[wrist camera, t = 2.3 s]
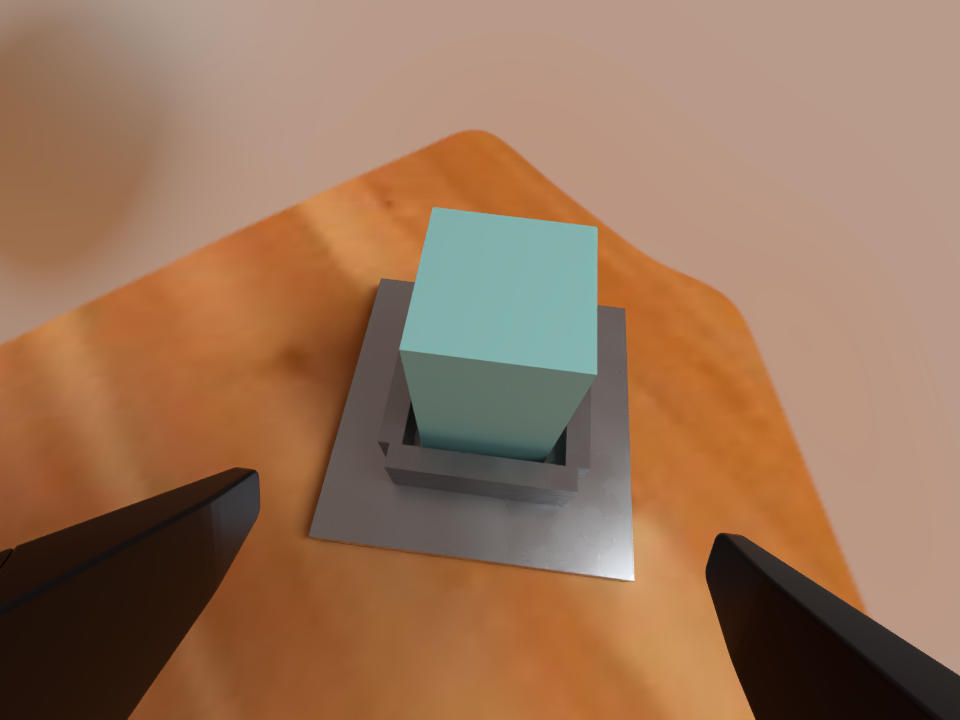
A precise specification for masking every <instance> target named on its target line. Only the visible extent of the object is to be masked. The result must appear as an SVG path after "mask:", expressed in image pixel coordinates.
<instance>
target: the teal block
mask: <svg viewBox="0 0 960 720" xmlns="http://www.w3.org/2000/svg"><path fill="white" fill-rule="evenodd" d="M399 351H400V355H401V359H402V364H403V368H404V372H405V376H406V380H407V384H408V389H409V393H410V397H411V401H412V405H413V409H414V414H415V418H416V422H417V426H418V430H419V435H420V439H421V443H422V447H425V448H433V449H440V450H448V451H455V452H463V453H471V454H478V455H486V456H493V457H501V458H508V459H516V460H524V461H531V462H539V463H544V461H545V460H546V458H547V456H548V455H549V453H550V452H551V450H552V448H553V447H554V445H555V443H556V442H557V440H558V438H559V437H560V435H561V433H562V432H563V430H564V429H565V427H566V425H567V424H568V422H569V420H570V419H571V417H572V415H573V414H574V412H575V410H576V409H577V407H578V405H579V404H580V402H581V401H582V399H583V397H584V396H585V394H586V392H587V391H588V389H589V387H590V386H591V384H592V382H593V381H594V379H595V378H596V376H597V227H594V226H586V225H577V224H569V223H561V222H552V221H544V220H536V219H527V218H519V217H511V216H502V215H494V214H486V213H477V212H469V211H461V210H452V209H444V208H436V207H433V209H432V213H431V218H430V222H429V226H428V230H427V234H426V239H425V243H424V247H423V251H422V255H421V260H420V264H419V268H418V272H417V277H416V281H415V285H414V289H413V293H412V298H411V302H410V306H409V310H408V315H407V319H406V323H405V327H404V331H403V336H402V340H401V344H400V348H399Z"/></svg>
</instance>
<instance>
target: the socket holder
mask: <svg viewBox="0 0 960 720" xmlns="http://www.w3.org/2000/svg"><path fill="white" fill-rule="evenodd" d="M414 285H415V283H414V282H406V281H398V280H390V279H382V278H381V281H380V284H379V288H378V291H377V295H376V298H375V302H374V305H373V309H372V313H371V316H370V320H369V323H368V327H367V330H366V334H365V337H364V341H363V344H362V348H361V351H360V355H359V359H358V362H357V366H356V369H355V373H354V376H353V380H352V383H351V387H350V390H349V394H348V397H347V401H346V405H345V408H344V412H343V415H342V419H341V422H340V426H339V429H338V433H337V436H336V440H335V443H334V447H333V451H332V454H331V458H330V461H329V465H328V468H327V472H326V475H325V479H324V482H323V486H322V490H321V493H320V497H319V500H318V504H317V507H316V511H315V514H314V518H313V521H312V525H311V528H310V532H309V537H311V538H313V539H316V540H322V541H329V542H336V543H344V544H351V545H358V546H366V547H373V548H380V549H388V550H395V551H402V552H409V553H417V554H424V555H431V556H439V557H446V558H453V559H460V560H468V561H475V562H482V563H490V564H497V565H504V566H511V567H519V568H526V569H533V570H541V571H548V572H555V573H563V574H570V575H577V576H584V577H592V578H599V579H606V580H614V581H621V582H630V581H634V561H633V531H632V501H631V471H630V441H629V411H628V381H627V351H626V321H625V309H624V308H616V307H608V306H600V305H597V376H596V378H595V379H594V381H593V382H592V384H591V386H590V387H589V389H588V391H587V392H586V394H585V396H584V397H583V399H582V401H581V402H580V404H579V405H578V407H577V409H576V410H575V412H574V414H573V415H572V417H571V419H570V420H569V422H568V424H567V425H566V427H565V429H564V430H563V432H562V433H561V435H560V437H559V438H558V440H557V442H556V443H555V445H554V447H553V448H552V450H551V452H550V453H549V455H548V456H547V458H546V460H545V461H544V463H539V462H531V461H524V460H516V459H508V458H501V457H493V456H486V455H478V454H471V453H463V452H455V451H448V450H440V449H433V448H425V447H422V443H421V439H420V435H419V430H418V426H417V422H416V418H415V414H414V409H413V405H412V401H411V397H410V393H409V389H408V384H407V380H406V376H405V372H404V368H403V364H402V359H401V355H400V351H399V348H400V344H401V340H402V336H403V331H404V327H405V323H406V319H407V315H408V310H409V306H410V302H411V298H412V293H413V289H414Z"/></svg>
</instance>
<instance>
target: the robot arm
mask: <svg viewBox="0 0 960 720" xmlns="http://www.w3.org/2000/svg"><path fill="white" fill-rule="evenodd" d="M259 510H260V489H259V475H258V472H257V471H256V470H253V469H246V468H239V467H236V468H232V469H229V470H226V471H224V472H221V473H218V474H215V475H212V476H210V477H207V478H204V479H201V480H199V481H196V482H193V483H190V484H187V485H185V486H182V487H179V488H176V489H174V490H171V491H168V492H165V493H162V494H160V495H157V496H154V497H151V498H149V499H146V500H143V501H140V502H137V503H135V504H132V505H129V506H126V507H124V508H121V509H118V510H115V511H112V512H110V513H107V514H104V515H101V516H99V517H96V518H93V519H90V520H87V521H85V522H82V523H79V524H76V525H74V526H71V527H68V528H65V529H62V530H60V531H57V532H54V533H51V534H49V535H46V536H43V537H40V538H37V539H35V540H32V541H29V542H26V543H24V544H21V545H18V546H16V547H15V549H14V550H13V549H11V548H10V549H6V550H4V551H1V552H0V720H127V719H128V718H129V716H130V715H131V713H132V712H133V710H134V709H135V708H136V706H137V705H138V703H139V702H140V700H141V699H142V697H143V696H144V695H145V693H146V692H147V690H148V689H149V687H150V686H151V685H152V683H153V682H154V680H155V679H156V677H157V676H158V674H159V673H160V672H161V670H162V669H163V667H164V666H165V664H166V663H167V661H168V660H169V659H170V657H171V656H172V654H173V653H174V651H175V650H176V648H177V647H178V646H179V644H180V643H181V641H182V640H183V638H184V637H185V635H186V634H187V633H188V631H189V630H190V628H191V627H192V625H193V624H194V622H195V621H196V620H197V618H198V617H199V615H200V614H201V612H202V611H203V609H204V608H205V607H206V605H207V604H208V602H209V601H210V599H211V598H212V596H213V595H214V593H215V592H216V590H217V589H218V587H219V585H220V584H221V582H222V580H223V579H224V577H225V575H226V573H227V571H228V570H229V568H230V566H231V564H232V562H233V561H234V559H235V557H236V555H237V553H238V552H239V550H240V548H241V546H242V544H243V543H244V541H245V539H246V537H247V535H248V534H249V532H250V530H251V528H252V526H253V524H254V523H255V521H256V519H257V517H258V514H259ZM706 580H707V584H708V587H709V591H710V594H711V597H712V600H713V604H714V607H715V610H716V613H717V617H718V620H719V623H720V626H721V630H722V633H723V636H724V639H725V643H726V646H727V649H728V652H729V655H730V658H731V661H732V663H733V666H734V668H735V671H736V674H737V676H738V679H739V681H740V683H741V686H742V688H743V691H744V693H745V695H746V698H747V700H748V703H749V705H750V707H751V710H752V712H753V715H754V717H755V719H756V720H960V676H959V675H958V674H956V673H955V672H953V671H951V670H950V669H948V668H947V667H945V666H944V665H942V664H941V663H939V662H938V661H936V660H934V659H933V658H931V657H930V656H928V655H927V654H925V653H924V652H922V651H920V650H919V649H917V648H916V647H914V646H913V645H911V644H910V643H908V642H906V641H905V640H904V639H902V638H900V637H899V636H897V635H896V634H894V633H893V632H891V631H890V630H888V629H886V628H885V627H883V626H882V625H880V624H879V623H877V622H876V621H874V620H873V619H871V618H869V617H868V616H866V615H865V614H863V613H862V612H860V611H859V610H857V609H855V608H854V607H852V606H851V605H849V604H848V603H846V602H845V601H843V600H842V599H840V598H838V597H837V596H835V595H834V594H832V593H831V592H829V591H828V590H826V589H825V588H823V587H821V586H820V585H818V584H817V583H815V582H814V581H812V580H811V579H809V578H807V577H806V576H804V575H803V574H801V573H800V572H798V571H797V570H795V569H794V568H792V567H790V566H789V565H787V564H786V563H784V562H783V561H781V560H780V559H778V558H776V557H775V556H773V555H772V554H770V553H769V552H767V551H766V550H764V549H763V548H761V547H759V546H758V545H756V544H755V543H753V542H752V541H750V540H749V539H747V538H746V537H744V536H741V535H737V534H729V533H720V534H718V535H717V536H716V538H715V540H714V544H713V547H712V550H711V553H710V556H709V559H708V562H707V565H706Z"/></svg>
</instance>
